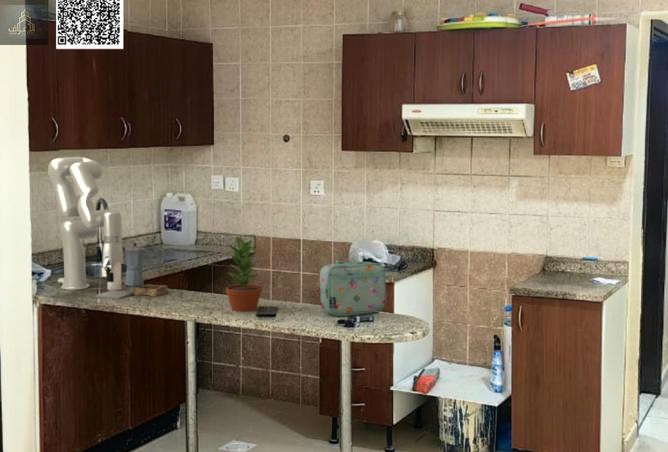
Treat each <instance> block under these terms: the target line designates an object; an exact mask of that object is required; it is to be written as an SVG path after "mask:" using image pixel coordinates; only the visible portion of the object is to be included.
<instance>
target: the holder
mask: <svg viewBox="0 0 668 452" xmlns="http://www.w3.org/2000/svg"><path fill="white" fill-rule="evenodd" d="M166 292H167V293H168V285H159V284H144V285H143V286H137V287H134V296H140V295H150V296H149V297H158V296H157V295H159V296H161V295H164V294H167V293H166ZM163 293H164V294H163ZM160 294H161V295H160Z"/></svg>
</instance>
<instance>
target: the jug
mask: <svg viewBox="0 0 668 452" xmlns="http://www.w3.org/2000/svg"><path fill="white" fill-rule="evenodd" d="M108 266H111V265H110V264H108ZM109 268H111V267H109ZM121 271H122V270H121V262H118V263H115V266H113V271H112V273H113V279H114V281H113V282H107V281H106V282H107V284H106V285H107V290H108V291H121V290H122V288H123V287H122V286H123V285H122V279H121ZM101 277H103V278H104V277H105V278H106V272H105V269H104V267H103V266H102V267H101Z"/></svg>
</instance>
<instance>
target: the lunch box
mask: <svg viewBox="0 0 668 452" xmlns="http://www.w3.org/2000/svg"><path fill="white" fill-rule="evenodd" d="M385 271H386V270H385V268H384V266H383V265H382V264H380V263H379V262H378V263H377V262H370V261H346V262H342V261H340V260H336V261H335V263H329V264H327V265H324V266H322V268H321V270H320V273H319V285H320V286H319V289H320V295H319V296H320V297H319V298H320V305H321V306H320V307H321V309H322V311H323V312H324V313H327V314H331V315H333V316H334V317H335V316H336V317H348V316H356V315H357V316H358V315H364V314H372V313H376V312H380V311H382V310H383V309H385V306H386V304H387V289H386V288H387V287H386V273H385Z"/></svg>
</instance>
